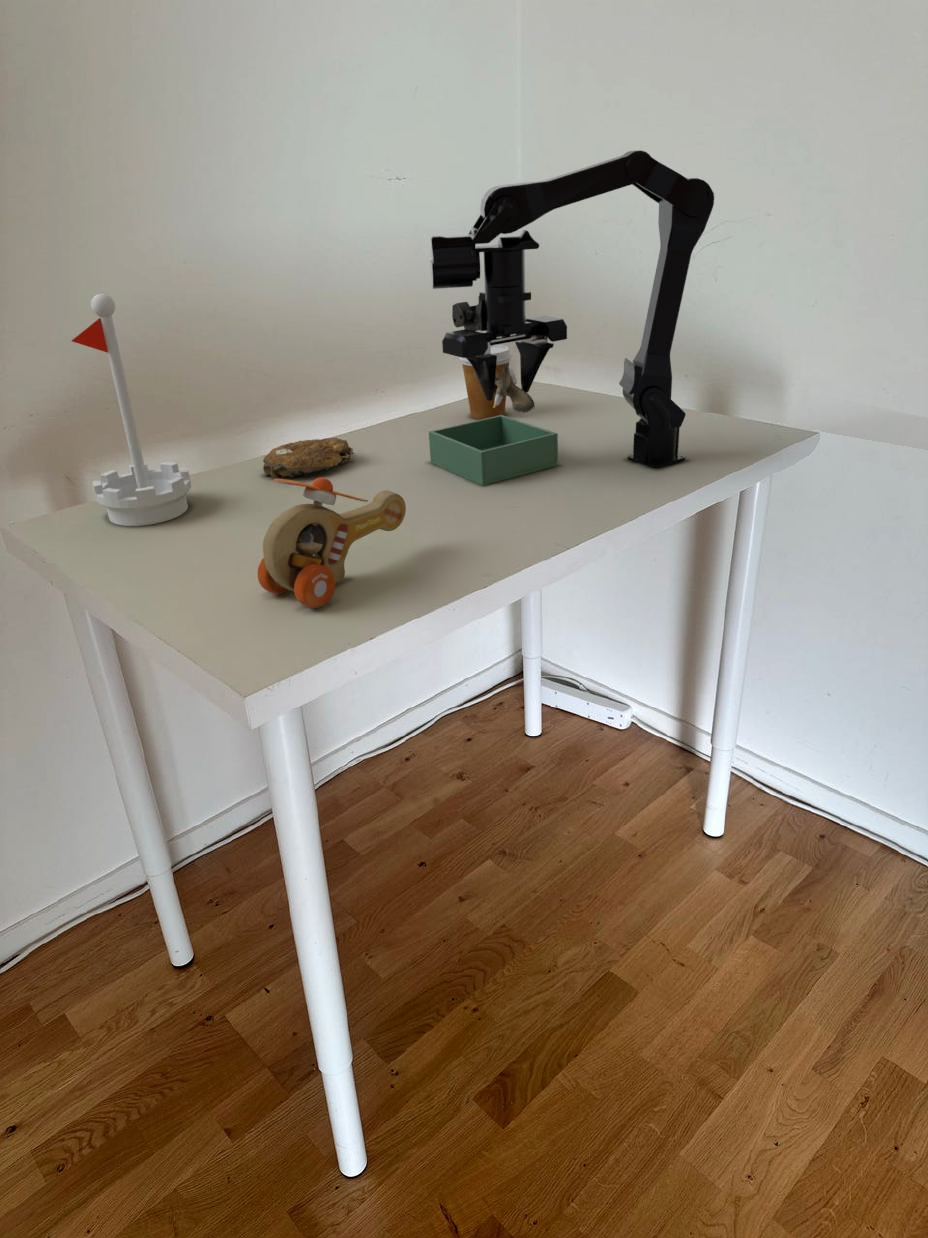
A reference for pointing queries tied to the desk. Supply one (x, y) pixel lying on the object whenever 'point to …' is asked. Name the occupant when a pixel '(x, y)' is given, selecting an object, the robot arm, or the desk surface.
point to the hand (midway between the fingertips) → (507, 396)
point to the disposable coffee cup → (476, 397)
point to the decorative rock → (306, 457)
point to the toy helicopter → (320, 541)
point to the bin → (493, 449)
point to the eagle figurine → (511, 391)
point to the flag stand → (132, 446)
